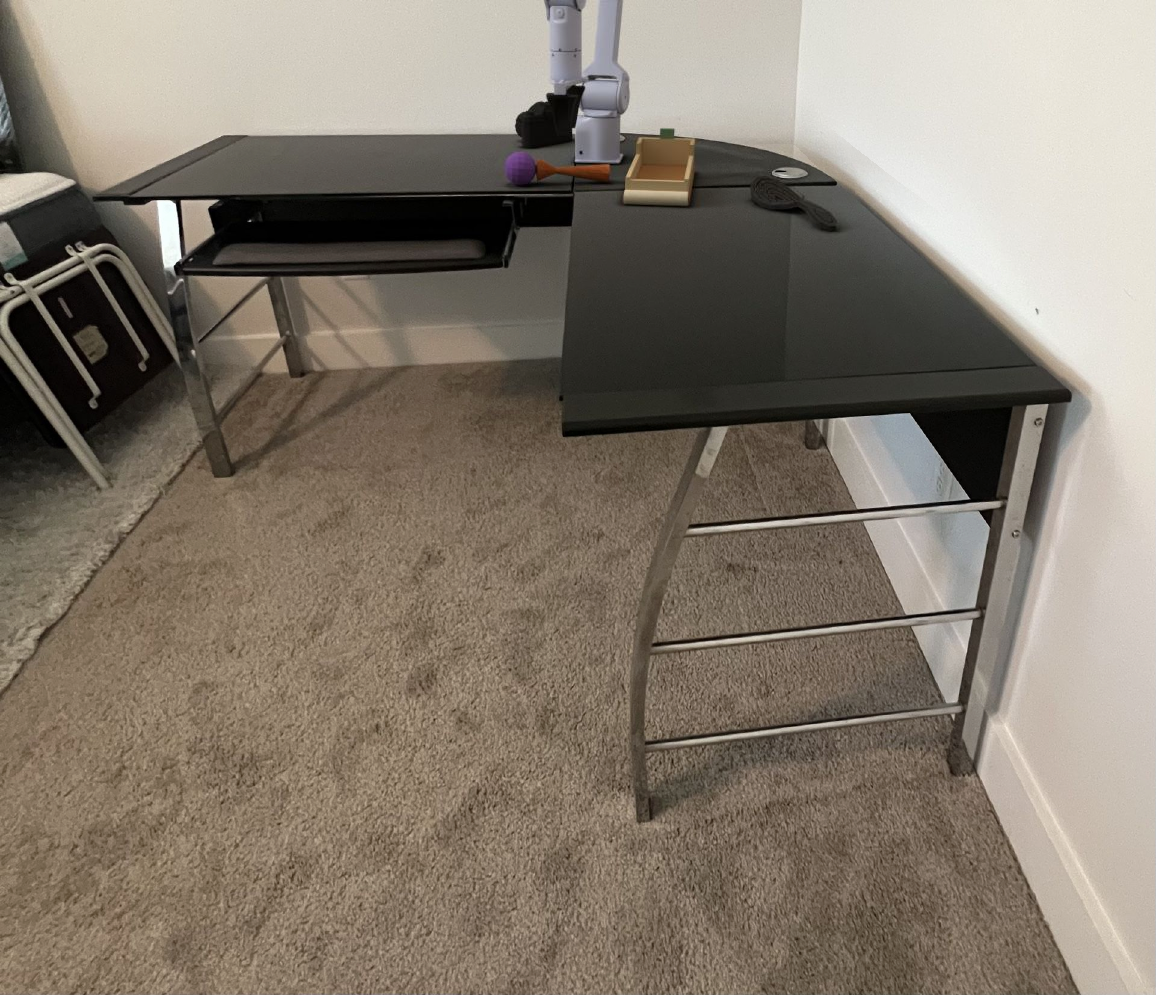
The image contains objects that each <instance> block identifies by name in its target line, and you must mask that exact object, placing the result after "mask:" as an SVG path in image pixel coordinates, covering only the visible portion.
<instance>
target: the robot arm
mask: <svg viewBox="0 0 1156 995" xmlns="http://www.w3.org/2000/svg"><path fill="white" fill-rule="evenodd" d="M543 3H544V7H545V14H546V15H545V17H546V20H547V21H548V22H549V70H550V71H549V75H550V76H549V81H548V82H549V83H550V84H551V85H552V86H553V92H547V93H546V94H545V99H546V101H548V103H549V105H550V107H551V110H552V113H553V117H554V122H555V127H556V131H557V135H558V136H569V133H570V129H571V128H572V129H574V130H575V131H574V146H575V147H574V151H575V152H574V153H575V154H574V155H575V156H574V157H575V159H574V163H577V164H578V163H579V164H580V163H581V164H609V165H610V164H614V165H615V164H617V165H618V164H619V165H620V163H621V162H622V159H623V158H624V153H621V118H622V117H621V116H622V115H625V113H626V112H627V111H628V108H629V105H630V104H629V103H630V100H631V99H630V97H631V91H630V75H629V73H628V72H627V70H625V69H624V68H623V66H622V65H620V63H619V62H618V59H619V50H620V38H621V28H622V27H621V26H622V17H623V7H624V6H623V5H624V0H598V7H597V18H596V31H595V42H594V54H593V61H592V62H590V63H589V64H588V65H587V66H586V67H585V68H583V57H582V56H583V55H582V54H583V50H582V48H583V47H582V46H583V44H582V43H583V31H582V30H583V29H582V28H583V26H582V25H583V23H582V22H583V16H582V15H583V11H582V10H584V8H585V7H586V5H587V0H543ZM579 110H580V111H581V112H582V114H579Z"/></svg>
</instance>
